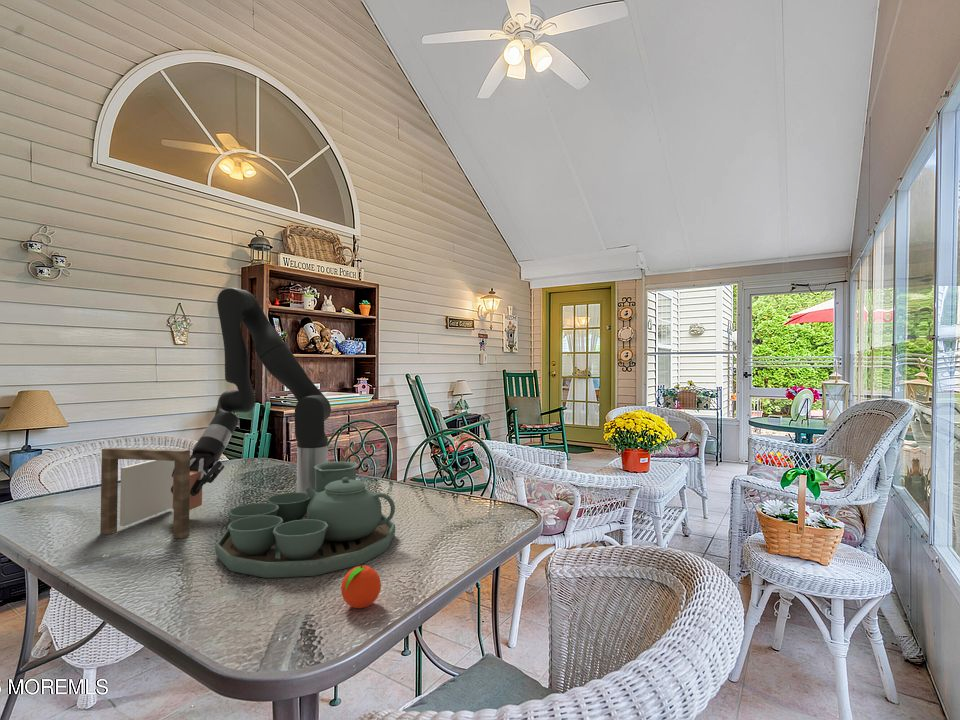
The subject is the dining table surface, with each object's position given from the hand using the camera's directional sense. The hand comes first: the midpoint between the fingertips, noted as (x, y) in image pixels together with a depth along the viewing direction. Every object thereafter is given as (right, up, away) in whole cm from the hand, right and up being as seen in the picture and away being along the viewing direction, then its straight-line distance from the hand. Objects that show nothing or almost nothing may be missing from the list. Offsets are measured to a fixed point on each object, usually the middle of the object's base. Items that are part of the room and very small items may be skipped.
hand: (183, 493), depth 136 cm
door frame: (-3, -7, -11) cm, 14 cm away
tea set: (+41, -8, -17) cm, 45 cm away
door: (-11, -6, +1) cm, 13 cm away
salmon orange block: (0, -4, +2) cm, 5 cm away
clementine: (+60, -7, -48) cm, 77 cm away
